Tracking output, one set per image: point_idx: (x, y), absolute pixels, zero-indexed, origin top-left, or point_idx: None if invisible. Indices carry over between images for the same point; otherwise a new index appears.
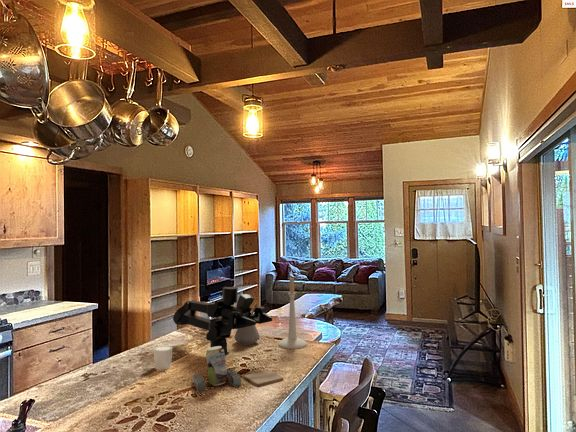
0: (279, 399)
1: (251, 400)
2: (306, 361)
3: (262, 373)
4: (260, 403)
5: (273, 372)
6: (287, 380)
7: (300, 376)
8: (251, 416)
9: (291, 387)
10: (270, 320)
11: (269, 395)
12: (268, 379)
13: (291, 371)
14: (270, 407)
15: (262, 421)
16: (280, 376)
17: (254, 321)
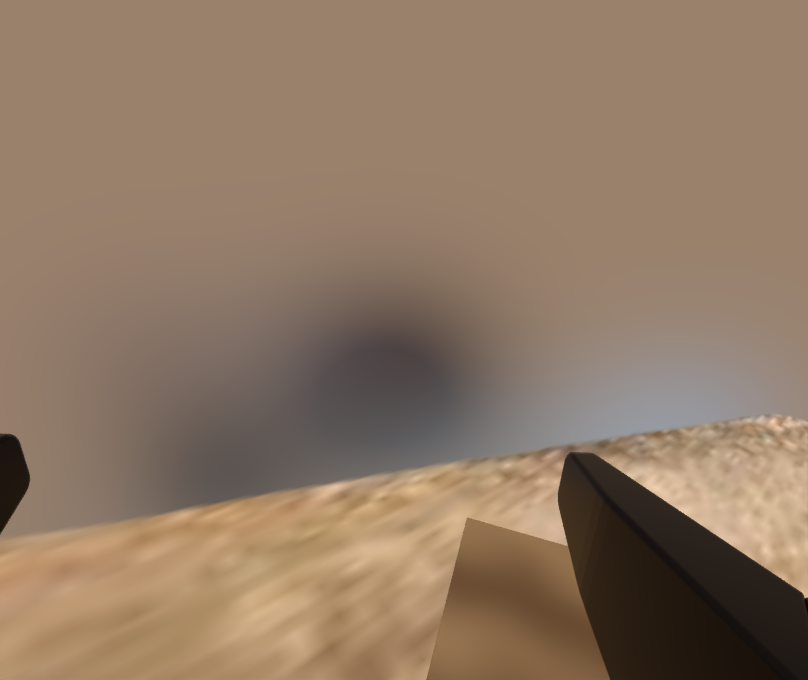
0: (626, 444)
1: (749, 513)
2: (46, 584)
3: (521, 669)
4: (718, 474)
5: (445, 611)
6: (455, 509)
7: (363, 488)
8: (788, 449)
9: (507, 461)
10: (11, 496)
11: (645, 485)
12: (557, 565)
13: (314, 562)
14: (692, 438)
15: (758, 416)
16: (468, 536)
17: (607, 463)
